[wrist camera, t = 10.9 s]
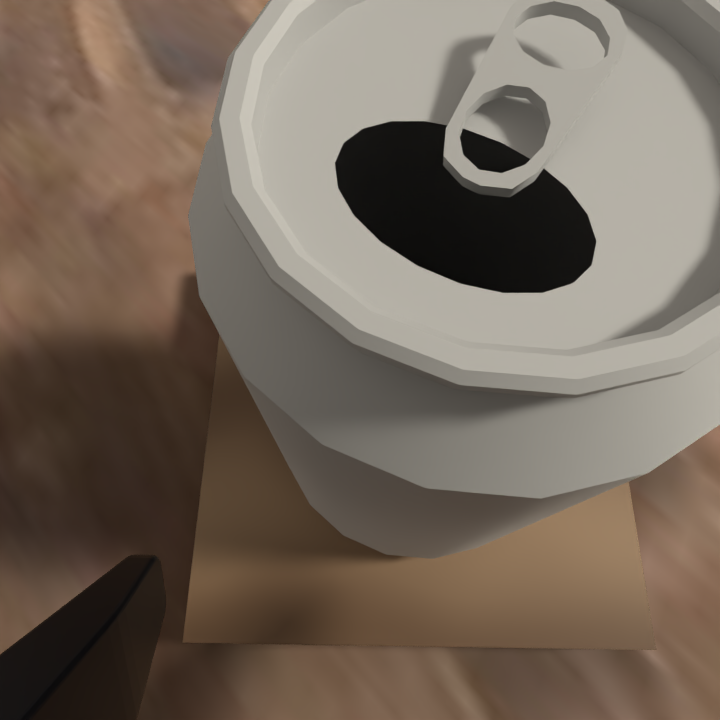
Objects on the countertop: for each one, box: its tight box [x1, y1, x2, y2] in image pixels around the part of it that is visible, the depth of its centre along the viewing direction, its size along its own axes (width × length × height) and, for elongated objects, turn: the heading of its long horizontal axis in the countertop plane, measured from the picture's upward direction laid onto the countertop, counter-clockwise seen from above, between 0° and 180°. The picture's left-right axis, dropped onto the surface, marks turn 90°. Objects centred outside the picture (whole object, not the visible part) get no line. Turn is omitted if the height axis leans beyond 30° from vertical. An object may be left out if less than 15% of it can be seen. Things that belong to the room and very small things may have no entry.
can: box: [188, 0, 720, 559], centre depth 11 cm, size 8×8×12 cm
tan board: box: [182, 335, 656, 650], centre depth 18 cm, size 12×12×2 cm
